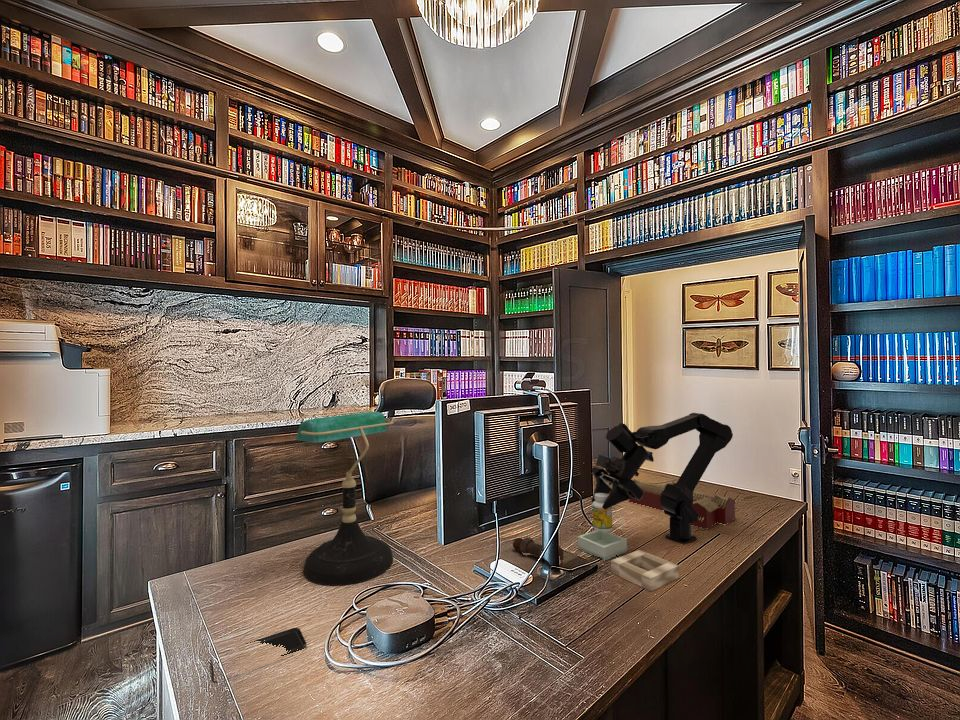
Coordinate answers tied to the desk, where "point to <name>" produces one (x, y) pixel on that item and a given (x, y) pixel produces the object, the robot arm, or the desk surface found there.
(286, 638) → the phone
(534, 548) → the brown long lumpy piece
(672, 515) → the robot arm
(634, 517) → the desk surface
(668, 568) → the socket block
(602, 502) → the supplement bottle
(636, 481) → the toy houses
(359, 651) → the desk surface
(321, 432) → the banker's lamp
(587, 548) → the tray
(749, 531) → the desk surface
